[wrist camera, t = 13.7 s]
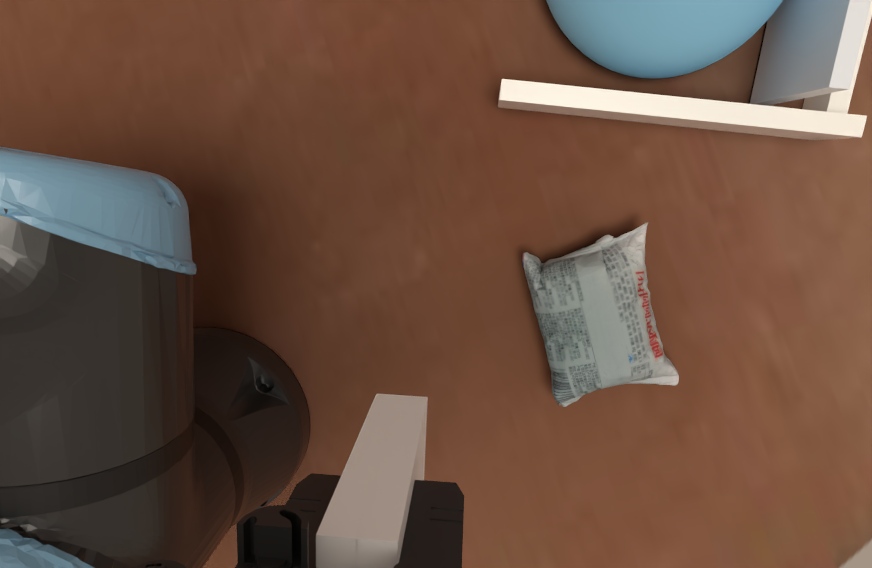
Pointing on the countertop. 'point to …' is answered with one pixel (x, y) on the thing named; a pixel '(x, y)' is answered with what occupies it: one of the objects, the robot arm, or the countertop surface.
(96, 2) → the countertop surface
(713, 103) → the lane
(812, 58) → the pusher
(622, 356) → the packaged food
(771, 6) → the sugar bowl
